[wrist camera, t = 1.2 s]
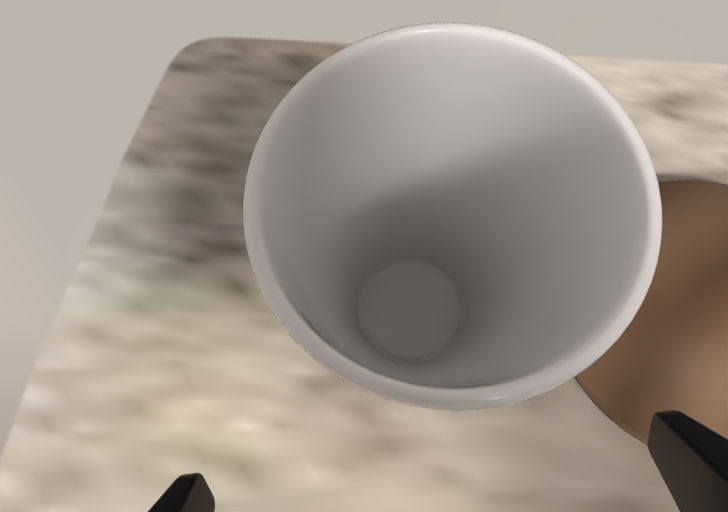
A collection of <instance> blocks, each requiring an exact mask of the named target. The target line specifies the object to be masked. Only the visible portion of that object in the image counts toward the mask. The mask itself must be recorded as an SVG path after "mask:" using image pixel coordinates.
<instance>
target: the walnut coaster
mask: <svg viewBox="0 0 728 512" xmlns="http://www.w3.org/2000/svg"><path fill="white" fill-rule="evenodd" d="M658 185H659V191H660V198H661V205H662V235H661V246H660V251H659V256H658V261H657V266H656V269H655V272H654V275H653V279H652V282H651V285H650V287H649V289H648V292H647V294H646V296H645V298H644V301H643V303H642V305H641V306H640V308H639V310H638V311H637V313H636V315H635V316H634V318H633V320H632V321H631V323H630V324H629V325H628V327H627V328H626V329H625V331H624V332H623V333H622V335H621V336H620V337H619V339H618V340H617V341H616V342H615V343H614V344H613V345H612V346H611V347H610V348H609V349H608V350H607V351H606V352H605V353H604V354H603V355H602V356H601V357H600V358H599V359H597V360H596V361H595V362H594V363H593V364H591V365H590V366H589V367H588V368H587V369H585V370H584V371H582V372H581V373H579V374H578V375H576V376H575V378H576V380H577V381H578V383H579V385H580V386H581V387H582V389H583V390H584V391H585V392H586V394H587V395H588V396H589V397H590V399H591V400H592V401H593V402H594V403H595V404H596V405H597V406H598V407H599V408H600V409H601V410H602V411H603V412H604V413H605V414H606V415H607V416H608V417H609V418H610V419H611V420H612V421H614V422H615V423H616V424H617V425H619V426H620V427H621V428H622V429H624V430H625V431H626V432H628V433H629V434H631V435H632V436H634V437H635V438H637V439H639V440H640V441H642V442H643V443H645V444H647V439H648V434H649V429H650V424H651V419H652V415H653V414H654V413H655V412H660V411H668V410H678V411H680V412H682V413H684V414H686V415H688V416H689V417H691V418H693V419H694V420H696V421H698V422H699V423H701V424H703V425H705V426H706V427H708V428H710V429H711V430H713V431H715V432H716V433H718V434H720V435H721V436H723V437H725V438H727V439H728V186H727V185H723V184H718V183H711V182H703V181H682V180H679V181H668V182H659V183H658ZM647 445H648V444H647Z"/></svg>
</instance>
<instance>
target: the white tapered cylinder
mask: <svg viewBox="0 0 728 512" xmlns="http://www.w3.org/2000/svg"><path fill="white" fill-rule="evenodd" d="M243 223H244V235H245V241H246V246H247V252H248V256H249V259H250V263H251V266H252V269H253V273H254V275H255V278H256V280H257V282H258V285H259V287H260V290H261V292H262V294H263V296H264V297H265V299H266V301H267V303H268V305H269V307H270V309H271V310H272V312H273V313H274V315H275V316H276V317H277V319H278V320H279V322H280V323H281V325H282V326H283V327H284V329H285V330H286V331H287V332H288V333H289V334H290V336H291V337H292V338H293V339H294V340H295V342H296V343H297V344H299V345H300V346H301V347H302V348H303V349H304V350H305V351H306V352H307V353H308V354H309V355H310V356H311V357H312V358H313V359H315V360H316V361H317V362H319V363H320V364H321V365H322V366H324V367H325V368H326V369H328V370H329V371H330V372H332V373H334V374H335V375H337V376H338V377H340V378H342V379H343V380H345V381H346V382H348V383H350V384H352V385H354V386H356V387H358V388H360V389H362V390H364V391H366V392H369V393H371V394H374V395H377V396H379V397H382V398H385V399H387V400H391V401H394V402H398V403H402V404H406V405H410V406H415V407H421V408H428V409H435V410H454V411H460V410H480V409H487V408H493V407H500V406H505V405H509V404H512V403H516V402H520V401H524V400H527V399H529V398H532V397H535V396H537V395H540V394H543V393H545V392H548V391H549V390H551V389H553V388H555V387H557V386H559V385H561V384H563V383H565V382H567V381H569V380H570V379H572V378H573V377H575V376H576V375H578V374H579V373H581V372H582V371H584V370H585V369H587V368H588V367H589V366H590V365H591V364H593V363H594V362H595V361H596V360H597V359H599V358H600V357H601V356H602V355H603V354H604V353H605V352H606V351H607V350H608V349H609V348H610V347H611V346H612V345H613V344H614V343H615V342H616V341H617V340H618V339H619V337H620V336H621V335H622V333H623V332H624V331H625V329H626V328H627V327H628V325H629V324H630V323H631V321H632V320H633V318H634V316H635V315H636V313H637V311H638V310H639V308H640V306H641V305H642V303H643V301H644V298H645V296H646V294H647V292H648V289H649V287H650V285H651V282H652V279H653V275H654V272H655V269H656V266H657V261H658V256H659V251H660V246H661V235H662V205H661V198H660V191H659V185H658V181H657V177H656V173H655V169H654V165H653V163H652V160H651V157H650V155H649V152H648V149H647V147H646V145H645V143H644V141H643V139H642V137H641V135H640V133H639V131H638V129H637V128H636V126H635V124H634V123H633V121H632V120H631V118H630V116H629V115H628V114H627V112H626V111H625V110H624V108H623V107H622V106H621V104H620V103H619V102H618V100H617V99H616V98H615V97H614V96H613V95H612V94H611V93H610V92H609V91H608V89H607V88H606V87H605V86H604V85H603V84H602V83H600V82H599V81H598V80H597V79H596V78H595V77H594V76H593V75H592V74H590V73H589V72H588V71H587V70H585V69H584V68H583V67H581V66H580V65H579V64H577V63H576V62H575V61H573V60H571V59H570V58H568V57H567V56H565V55H563V54H562V53H560V52H558V51H557V50H555V49H553V48H551V47H549V46H547V45H544V44H543V43H540V42H538V41H536V40H533V39H531V38H529V37H526V36H523V35H520V34H517V33H514V32H511V31H507V30H503V29H499V28H494V27H490V26H484V25H477V24H467V23H427V24H417V25H412V26H405V27H401V28H396V29H393V30H389V31H384V32H381V33H378V34H376V35H373V36H370V37H367V38H364V39H362V40H360V41H358V42H355V43H353V44H351V45H349V46H347V47H345V48H343V49H342V50H340V51H338V52H336V53H334V54H333V55H331V56H330V57H328V58H327V59H325V60H324V61H322V62H321V63H319V64H318V65H317V66H316V67H314V68H313V69H312V70H311V71H309V72H308V73H307V74H306V75H305V76H304V77H303V78H302V79H301V80H300V81H299V82H298V83H296V84H295V85H294V86H293V88H292V89H291V90H290V91H289V92H288V93H287V94H286V96H285V97H284V98H283V99H282V100H281V102H280V103H279V105H278V106H277V107H276V109H275V110H274V112H273V113H272V115H271V116H270V118H269V120H268V121H267V123H266V125H265V127H264V128H263V130H262V132H261V135H260V137H259V139H258V141H257V143H256V146H255V149H254V152H253V155H252V157H251V160H250V164H249V168H248V172H247V177H246V182H245V190H244V197H243Z"/></svg>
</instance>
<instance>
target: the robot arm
mask: <svg viewBox="0 0 728 512" xmlns="http://www.w3.org/2000/svg"><path fill="white" fill-rule="evenodd" d="M647 444H648V449H649V452H650V454H651V456H652V458H653V460H654V462H655V464H656V466H657V468H658V470H659V472H660V473H661V475H662V477H663V479H664V481H665V483H666V485H667V487H668V489H669V491H670V493H671V495H672V497H673V499H674V501H675V502H676V504H677V506H678V508H679V510H680V512H728V439H727V438H725V437H723V436H721V435H720V434H718V433H716V432H715V431H713V430H711V429H710V428H708V427H706V426H705V425H703V424H701V423H699V422H698V421H696V420H694V419H693V418H691V417H689V416H688V415H686V414H684V413H682V412H680V411H678V410H668V411H660V412H655V413H654V414H653V415H652V419H651V424H650V429H649V434H648V439H647ZM214 511H215V500H214V497H213V494H212V492H211V490H210V489H209V487H208V485H207V483H206V481H205V479H204V477H203V475H202V474H200V473H192V474H184V475H181V476H179V477H178V478H177V479H176V480H175V481H174V482H173V483H172V485H171V486H170V487H169V488H168V489H167V490H166V491H165V493H164V494H163V495H162V496H161V497H160V498H159V499H158V501H157V502H156V503H155V504H154V505H153V506H152V508H151V509H150V510H149V511H148V512H214Z"/></svg>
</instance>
